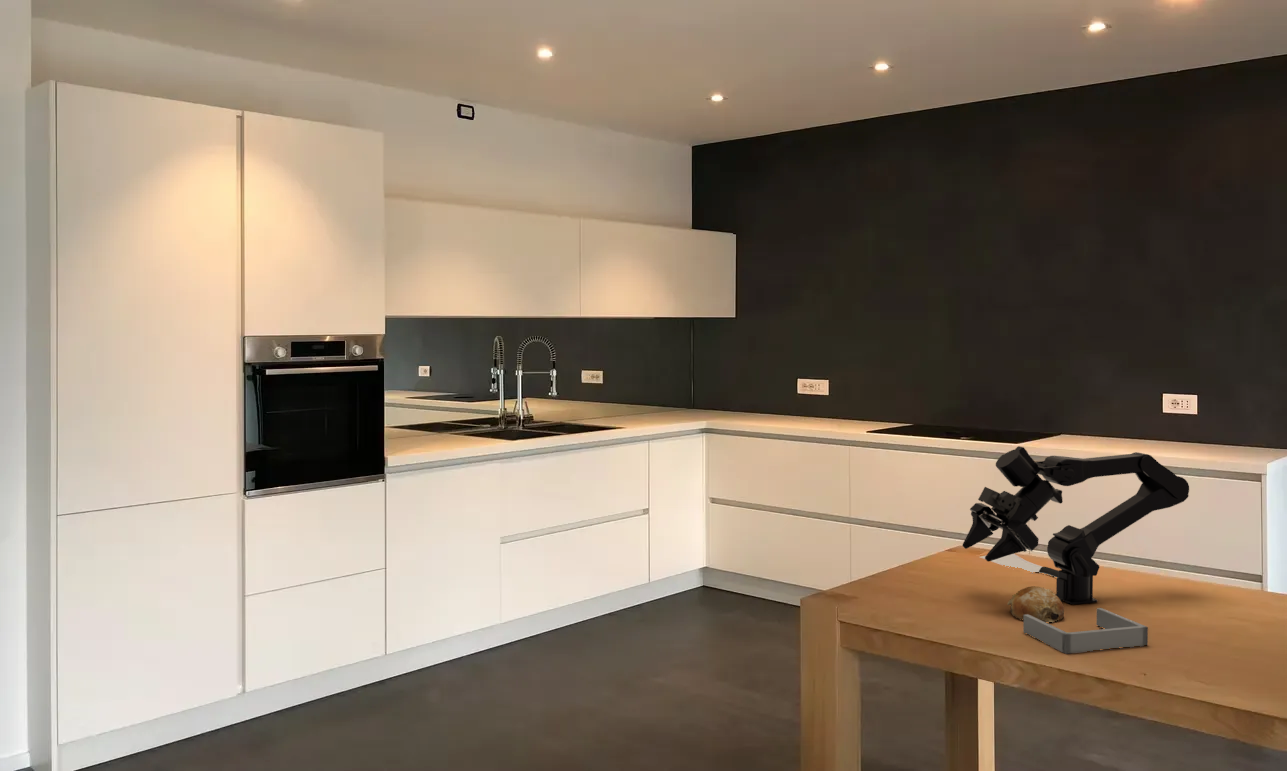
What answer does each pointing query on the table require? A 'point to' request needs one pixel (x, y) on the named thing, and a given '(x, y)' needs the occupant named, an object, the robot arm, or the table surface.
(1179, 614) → the table surface
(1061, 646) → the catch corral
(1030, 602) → the bread roll
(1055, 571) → the kitchen cleaver
